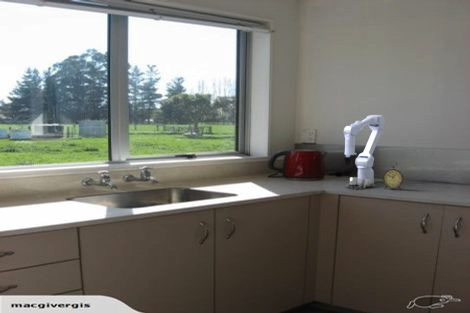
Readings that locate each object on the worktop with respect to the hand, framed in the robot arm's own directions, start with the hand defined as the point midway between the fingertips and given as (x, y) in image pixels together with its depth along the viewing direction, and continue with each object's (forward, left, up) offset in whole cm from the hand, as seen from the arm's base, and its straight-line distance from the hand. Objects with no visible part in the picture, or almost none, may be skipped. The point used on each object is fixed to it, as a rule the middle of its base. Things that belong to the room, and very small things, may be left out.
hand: (349, 168), depth 250 cm
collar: (+7, +12, -10) cm, 17 cm away
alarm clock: (-11, +24, -10) cm, 28 cm away
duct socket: (+3, +12, -10) cm, 16 cm away
